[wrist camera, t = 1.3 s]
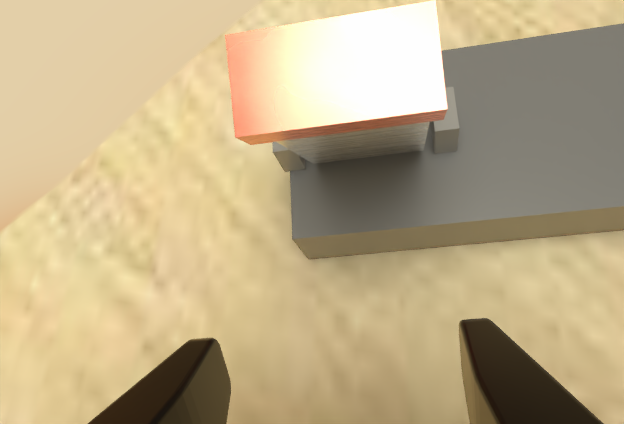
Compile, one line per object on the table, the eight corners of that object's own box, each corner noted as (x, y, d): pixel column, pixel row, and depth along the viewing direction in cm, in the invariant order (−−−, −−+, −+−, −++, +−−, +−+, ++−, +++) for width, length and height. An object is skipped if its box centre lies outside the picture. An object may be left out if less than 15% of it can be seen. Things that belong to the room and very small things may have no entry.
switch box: (867, 207, 20) (995, 149, 15) (304, 259, 23) (274, 224, 19) (801, 41, 22) (894, -51, 18) (297, 110, 26) (270, 48, 21)
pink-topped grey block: (430, 157, 20) (447, 108, 11) (308, 172, 21) (235, 137, 12) (423, 96, 20) (435, 0, 11) (302, 113, 21) (225, 35, 12)
